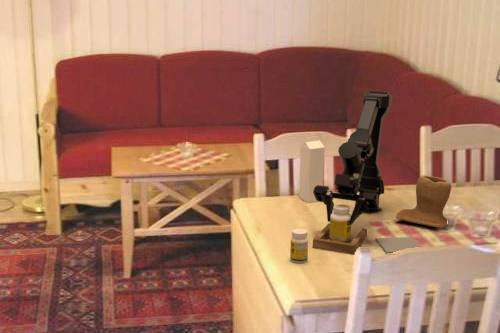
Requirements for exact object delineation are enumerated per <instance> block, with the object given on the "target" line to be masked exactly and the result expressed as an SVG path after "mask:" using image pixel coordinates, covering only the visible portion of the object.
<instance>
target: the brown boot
mask: <svg viewBox="0 0 500 333" xmlns="http://www.w3.org/2000/svg"><path fill="white" fill-rule="evenodd" d="M451 190H452V184H451V182H450V181H449V180H447V179H445V178H442V177H437V176H431V175H425V174H424V175H420V176H419V178H418V179H417V182H416V187H415V196H416V198H415V199H416V206H415V207H414V208H412V209H411V208H402V209H401V210H399V211H398V212H397V213H396V214H395V215H396V216H395V218H396V219H397V220H401V221H405V222H408V223H412V224H417V225H422V226H427V227H433V228H444V227H446V226H448V224H447V219H448V218H447V217H446V218H447V219H446V218H445V216H444V209H445V207H446V206H447V202H448V201H449V198H450V196H451V195H450V194H451Z"/></svg>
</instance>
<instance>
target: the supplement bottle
mask: <svg viewBox="0 0 500 333" xmlns="http://www.w3.org/2000/svg"><path fill="white" fill-rule="evenodd" d="M291 235H292V236H291V237H290V256H289V258H290V261H291V262H293V263H296V264H302V263H303V264H304V263H306V262H308V252H309V251H308V250H309V238H308V231H307V230H306V229H303V228H294V229H292V232H291Z"/></svg>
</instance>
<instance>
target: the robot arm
mask: <svg viewBox="0 0 500 333" xmlns="http://www.w3.org/2000/svg"><path fill="white" fill-rule="evenodd" d="M393 98H394V96H393V95H391V94H390V91H385V90H384V91H383V90H382V91H381V90H369V92H368V93H364V94H363V103H362V104H363V105H362V106H363V107H362V109H361V112H360V117H359V120H358V124H357V127H356V130H355V131H354V132H352V133H351V134H350V135H349V137H348V139H347V141H346V142H343V143H342V144H341V145H340V146H339V147H338V155H339V157H340V161H341V163H342V166H344V167H343V169H342V173H336V174H335V178H334V183H333V185H335V190H336V191H333V190H330V188H329V186H327V185H323V186H321V185H317V186H316V187H314V190H313V193H314V196H315V198H316V200H317V201H316V202H320V203H323V204H324V205H325V207H326V219H327V223H330V216H331V214H332V213H334V212H333V206H334V205H335V203H334V201H333V200H334V199H337V200H346V201H351V202H355V203H354V208H353V210H352V212H351V213H352V214H351V219H350V225H351V226H352V225H353V224H354V223H355V221H356V220H357V219H359V217H360V216H361V215H362V214H363V213H366V214H371V213H375V212H379V211H383V208H382V207H380V195H384V194H385V182H384V179H383V178H384V177H383V176H382V174H383V173H382V170H381V167H380V165H379V157H380V148H381V142H382V132H383V124H384V119H385V118H386V117H387V115H388V114H389V113H390V109H391V107H392V105H393V100H394V99H393Z"/></svg>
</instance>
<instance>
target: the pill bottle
mask: <svg viewBox="0 0 500 333" xmlns="http://www.w3.org/2000/svg"><path fill="white" fill-rule="evenodd" d="M350 208H351V207H350V206H349V205H348V204H341V203H339V204H334V206H333V212H332V214H331V216H330V222H329V223H330V235H329V237H328V240H332V241H338V242H344V243H351V242H352V225H350V219H351V216H352V214H350V211H351V210H350Z"/></svg>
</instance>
